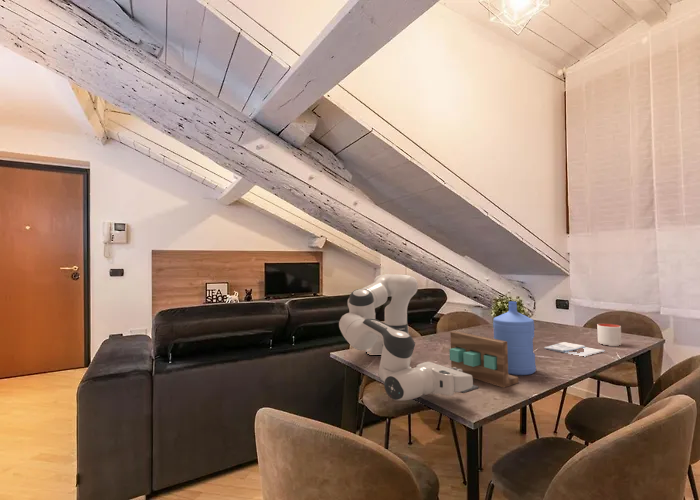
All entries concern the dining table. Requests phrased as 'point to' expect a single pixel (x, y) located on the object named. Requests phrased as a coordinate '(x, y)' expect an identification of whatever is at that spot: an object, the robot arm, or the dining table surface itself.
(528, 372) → the water jug
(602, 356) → the dining table surface
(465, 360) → the button middle
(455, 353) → the button far
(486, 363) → the button near
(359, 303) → the robot arm
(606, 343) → the cup
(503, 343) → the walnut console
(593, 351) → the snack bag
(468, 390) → the card
